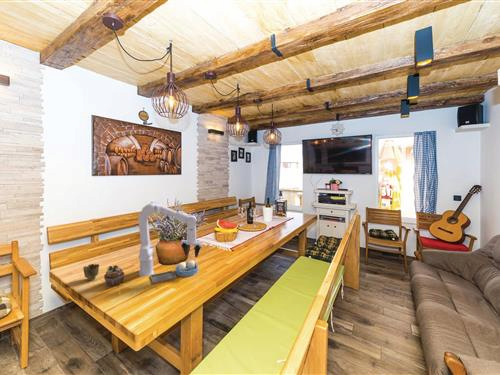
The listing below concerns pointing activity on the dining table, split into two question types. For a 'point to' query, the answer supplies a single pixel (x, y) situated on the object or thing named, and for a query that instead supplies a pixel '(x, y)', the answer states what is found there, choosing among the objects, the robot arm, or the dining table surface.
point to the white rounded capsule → (182, 266)
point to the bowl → (186, 273)
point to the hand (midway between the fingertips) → (191, 255)
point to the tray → (162, 277)
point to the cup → (91, 271)
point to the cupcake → (113, 276)
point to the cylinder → (191, 265)
